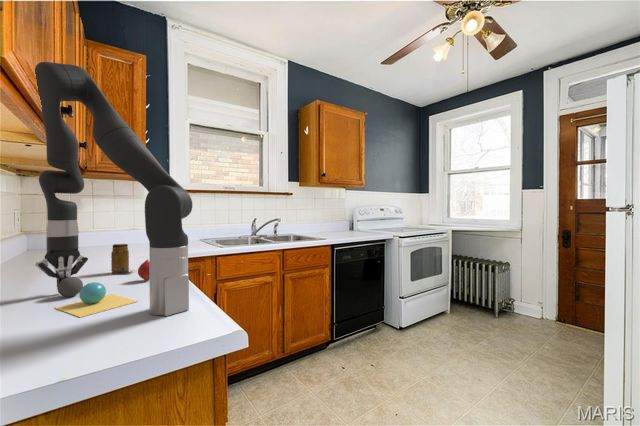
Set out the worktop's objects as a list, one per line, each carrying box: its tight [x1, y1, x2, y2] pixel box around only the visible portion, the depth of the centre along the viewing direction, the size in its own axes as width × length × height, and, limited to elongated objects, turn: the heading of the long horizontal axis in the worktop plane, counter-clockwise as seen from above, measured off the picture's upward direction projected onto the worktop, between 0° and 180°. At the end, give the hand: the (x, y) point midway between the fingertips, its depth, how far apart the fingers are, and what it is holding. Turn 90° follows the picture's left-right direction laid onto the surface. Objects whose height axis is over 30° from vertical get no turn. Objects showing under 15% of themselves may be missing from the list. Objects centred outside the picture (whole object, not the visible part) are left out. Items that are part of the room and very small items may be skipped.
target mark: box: [54, 294, 139, 318], centre depth 82 cm, size 14×14×1 cm
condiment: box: [106, 243, 138, 276], centre depth 121 cm, size 7×8×12 cm
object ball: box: [78, 282, 107, 304], centre depth 83 cm, size 6×6×6 cm
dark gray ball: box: [56, 276, 84, 298], centre depth 89 cm, size 6×6×6 cm
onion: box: [137, 259, 150, 282], centre depth 109 cm, size 6×6×8 cm
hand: (63, 289), depth 91 cm, fingers closed
